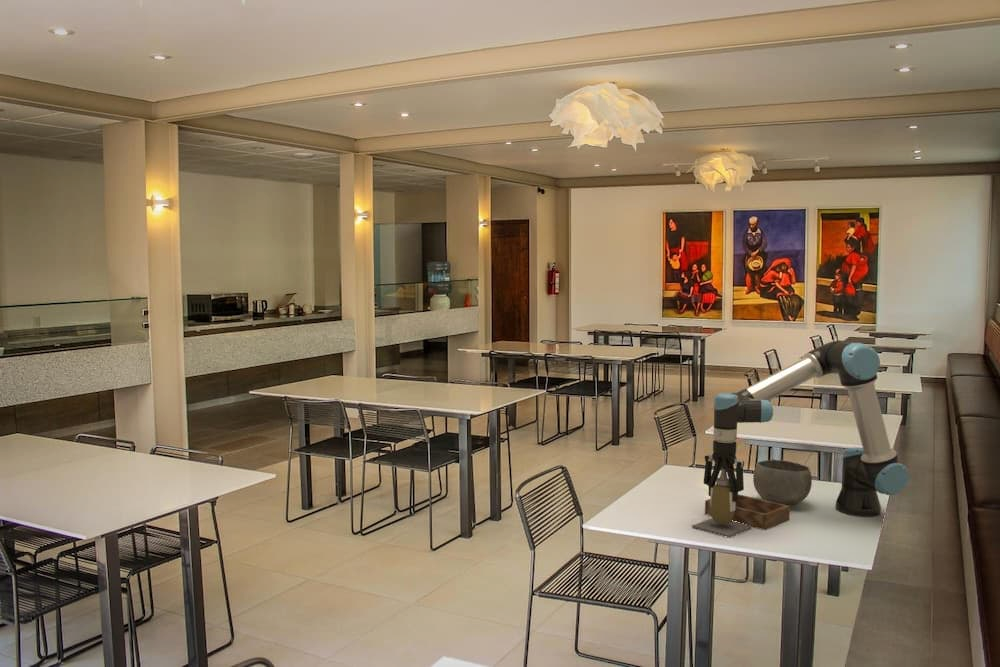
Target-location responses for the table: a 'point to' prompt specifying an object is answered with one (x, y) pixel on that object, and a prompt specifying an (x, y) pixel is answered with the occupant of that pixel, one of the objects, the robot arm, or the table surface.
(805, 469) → the bowl
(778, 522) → the tray
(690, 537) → the table surface
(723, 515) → the squeeze bottle
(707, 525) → the charcoal mat
